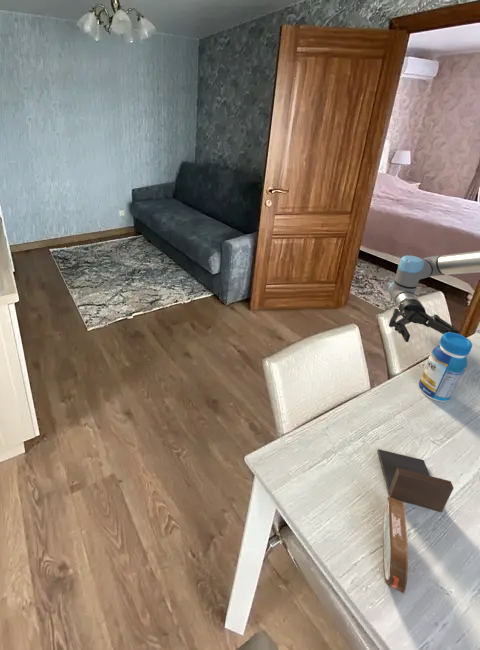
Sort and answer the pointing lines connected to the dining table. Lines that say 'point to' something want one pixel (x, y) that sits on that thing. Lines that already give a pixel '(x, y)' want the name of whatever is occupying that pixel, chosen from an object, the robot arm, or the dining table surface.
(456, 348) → the blue capped bottle
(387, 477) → the dock
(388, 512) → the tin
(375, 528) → the dining table surface
